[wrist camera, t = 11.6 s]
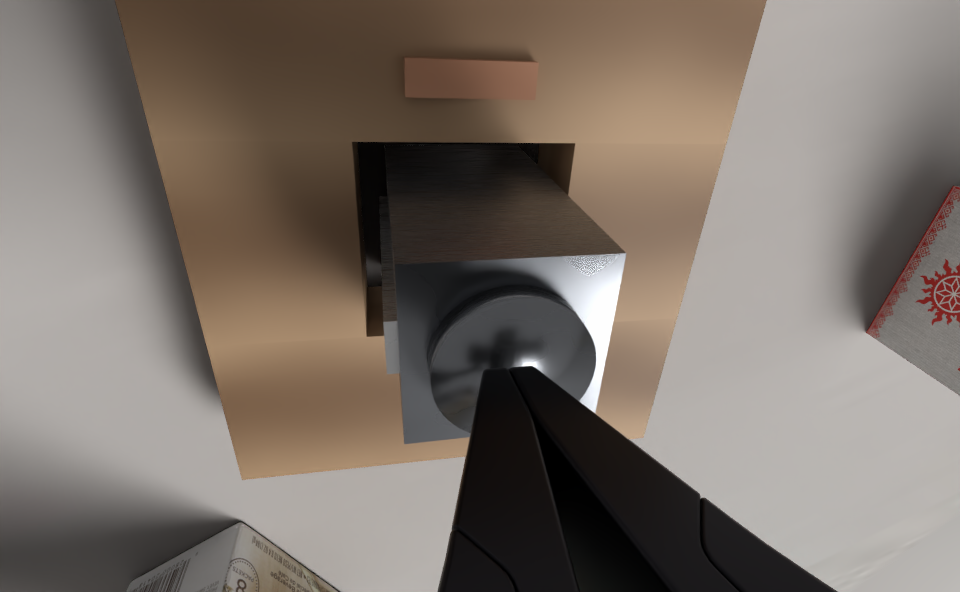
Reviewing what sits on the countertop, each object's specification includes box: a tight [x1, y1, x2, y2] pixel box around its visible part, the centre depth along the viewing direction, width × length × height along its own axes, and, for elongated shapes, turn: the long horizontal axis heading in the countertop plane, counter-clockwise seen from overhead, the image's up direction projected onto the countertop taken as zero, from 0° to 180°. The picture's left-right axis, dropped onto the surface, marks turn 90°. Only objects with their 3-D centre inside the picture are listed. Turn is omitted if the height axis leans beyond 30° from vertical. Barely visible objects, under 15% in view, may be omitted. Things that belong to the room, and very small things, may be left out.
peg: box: [379, 144, 627, 444], centre depth 13 cm, size 4×4×9 cm
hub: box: [115, 0, 767, 480], centre depth 15 cm, size 16×14×3 cm
